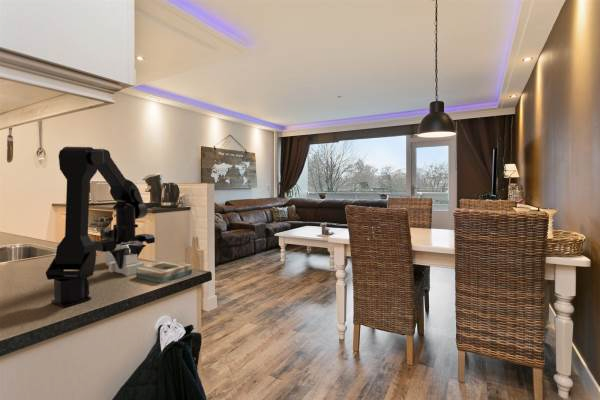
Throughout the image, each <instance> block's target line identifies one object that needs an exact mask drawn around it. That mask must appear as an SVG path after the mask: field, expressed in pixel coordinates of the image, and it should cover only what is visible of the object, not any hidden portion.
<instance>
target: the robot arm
mask: <svg viewBox="0 0 600 400" xmlns="http://www.w3.org/2000/svg"><path fill="white" fill-rule="evenodd" d="M58 165H59V171H60V173H62V174H63V176H64V178H65V180H66V193H65V194H66V195H65V223H64V224H65V225H64V228H65V229H64V237H63V238H62V239H61V241H60V242H59V243H58V244H57V246H56V253H55V256H54V258H53V259H52V261H51V262H50V264H49V267H48V268H47V270H46V271H45V276H46V279H47V280H53V291H54V296H53V297H54V299H51V300H50V303H51V304H54V305H57V306H60V307H62V308H66V307H71V306H72V305H76V304H80V303H83V302H86V301H89V300H92V296H90V280H89V279H88V278H90V277H92V276H93V275H94V271H95V266H96V260H97V252H102V253H106V252H107V251H109V252H111V253H112V255H113V257H114V259H115V261H116V263H117V265H118V268H119V269H122V266H123V257H124V249H121V246H122V245H128V244H129V245H128V246H129V248H130V253H133V254H137V259H139V256H140V254H141V253H142V251H143V249H144V248H146V246H147V245H149V244H155V241H156V237H155V236H154V234H150V233H141V234H136V228H138V227H139V225H138V224H137V223H136V220H138V219H142V218H145V217H146V216H147V215H148V213H149V209H148V207H147V205H146V204H145V203H144V200H143V197H142V195H141V191H140V190H139V187H138V186H137V185H136V184H135V183H134V182H133V181H132V180H129V179H127V178H126V177H125V176H124V175H123V173H122V172H121V170H120V168H119V167H118V166H117V164H116V163H115V161H114V160H113V158H112V157H111V153H110V151H109V150H107V149H106V148H93V147H92V146H64V147H63V148H62V149H60V150H59V152H58ZM96 173H99V174H100V175H101V177H102V178H103V179H104V180H105V182H106V183H107V184H108V186H109V187H110V189H109V194H110V196H111V197H112V199H113V201H115V202H116V203H115V204H114V205H113V207H112V208H113V210H115V224H113V226H112V227H113V228H112V229H109V228H106V227H105V228H102V229H100V232H99V235H100V239H101V240H92V239H91V238H90V236H89V218H90V217H89V212H90V184H91V183H90V182H91V180H92V179H93V178H94V176H95V175H96ZM112 240H116V241H112ZM122 242H123V243H122ZM144 243H146V244H147V245H146V244H144Z"/></svg>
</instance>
